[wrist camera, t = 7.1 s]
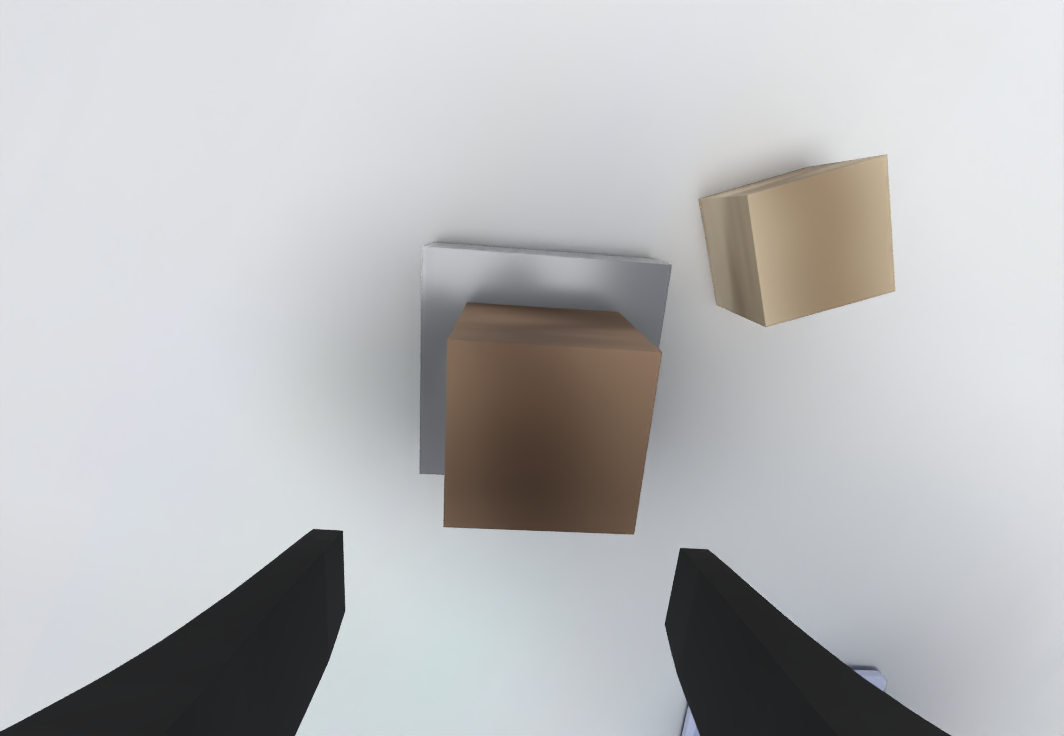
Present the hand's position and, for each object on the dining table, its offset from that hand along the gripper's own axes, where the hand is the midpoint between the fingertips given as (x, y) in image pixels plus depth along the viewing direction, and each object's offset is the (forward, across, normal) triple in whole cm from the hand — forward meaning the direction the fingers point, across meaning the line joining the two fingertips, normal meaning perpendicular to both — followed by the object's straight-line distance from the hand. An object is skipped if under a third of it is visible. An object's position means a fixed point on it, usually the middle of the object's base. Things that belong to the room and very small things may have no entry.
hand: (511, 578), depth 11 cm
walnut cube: (+7, -1, -2) cm, 8 cm away
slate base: (+10, -1, -2) cm, 10 cm away
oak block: (+10, -9, -7) cm, 15 cm away
